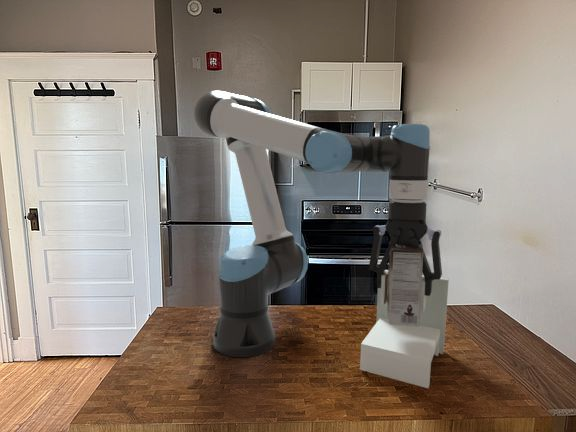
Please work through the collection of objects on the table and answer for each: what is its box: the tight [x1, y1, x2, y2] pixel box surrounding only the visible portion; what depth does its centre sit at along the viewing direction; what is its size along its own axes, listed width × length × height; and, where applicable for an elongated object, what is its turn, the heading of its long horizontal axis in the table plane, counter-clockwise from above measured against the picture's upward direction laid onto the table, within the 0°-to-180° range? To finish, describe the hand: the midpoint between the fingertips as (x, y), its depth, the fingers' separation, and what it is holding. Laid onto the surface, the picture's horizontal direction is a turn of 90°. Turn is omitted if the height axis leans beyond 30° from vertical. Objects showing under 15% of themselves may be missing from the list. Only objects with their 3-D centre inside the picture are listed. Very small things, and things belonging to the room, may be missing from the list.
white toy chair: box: [359, 269, 450, 389], centre depth 84 cm, size 16×18×18 cm
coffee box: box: [387, 240, 424, 327], centre depth 80 cm, size 9×6×16 cm
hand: (402, 305), depth 81 cm, fingers closed on coffee box, 7 cm apart
